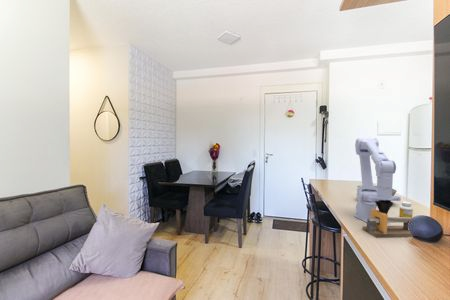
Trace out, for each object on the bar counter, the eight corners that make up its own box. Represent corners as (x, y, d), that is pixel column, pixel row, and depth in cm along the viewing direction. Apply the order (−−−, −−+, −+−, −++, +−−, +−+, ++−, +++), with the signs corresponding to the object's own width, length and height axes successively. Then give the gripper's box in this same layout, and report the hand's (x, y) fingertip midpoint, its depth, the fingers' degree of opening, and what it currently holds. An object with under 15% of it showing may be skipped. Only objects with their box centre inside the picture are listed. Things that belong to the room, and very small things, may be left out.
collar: (370, 225, 106) (371, 208, 106) (373, 225, 106) (374, 208, 106) (383, 232, 98) (384, 214, 98) (386, 232, 98) (387, 214, 98)
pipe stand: (362, 229, 106) (362, 214, 106) (401, 228, 108) (402, 214, 108) (376, 237, 98) (377, 221, 97) (419, 236, 99) (419, 220, 99)
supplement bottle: (399, 217, 123) (400, 200, 123) (412, 220, 120) (412, 202, 119) (399, 220, 119) (399, 202, 119) (412, 223, 116) (413, 204, 115)
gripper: (375, 189, 97) (374, 219, 98) (407, 188, 98) (405, 219, 99) (364, 185, 104) (363, 214, 105) (393, 185, 105) (392, 214, 106)
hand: (383, 216), depth 102 cm, fingers closed
